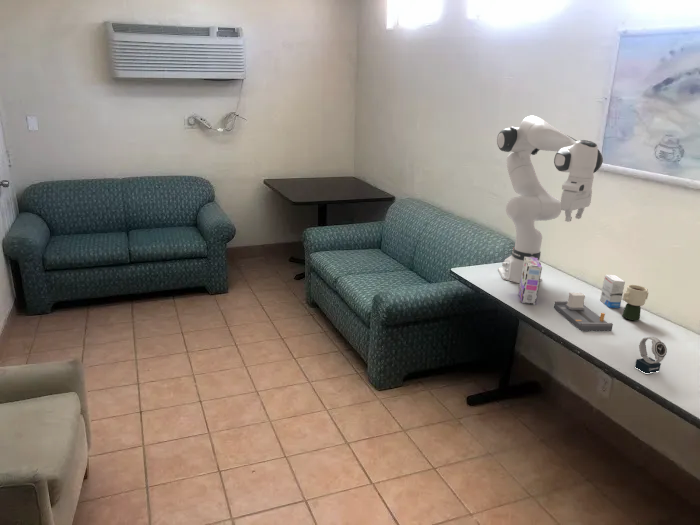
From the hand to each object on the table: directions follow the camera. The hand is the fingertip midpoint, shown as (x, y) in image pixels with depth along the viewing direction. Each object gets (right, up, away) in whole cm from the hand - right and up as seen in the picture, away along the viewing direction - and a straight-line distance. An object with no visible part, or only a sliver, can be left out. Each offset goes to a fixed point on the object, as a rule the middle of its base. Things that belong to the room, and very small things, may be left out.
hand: (573, 219), depth 214 cm
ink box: (+22, -34, +16) cm, 44 cm away
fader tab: (+2, -34, +4) cm, 35 cm away
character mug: (+23, -39, +2) cm, 45 cm away
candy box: (-12, -32, +17) cm, 38 cm away
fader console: (+3, -38, -1) cm, 38 cm away
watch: (+8, -51, -39) cm, 65 cm away
